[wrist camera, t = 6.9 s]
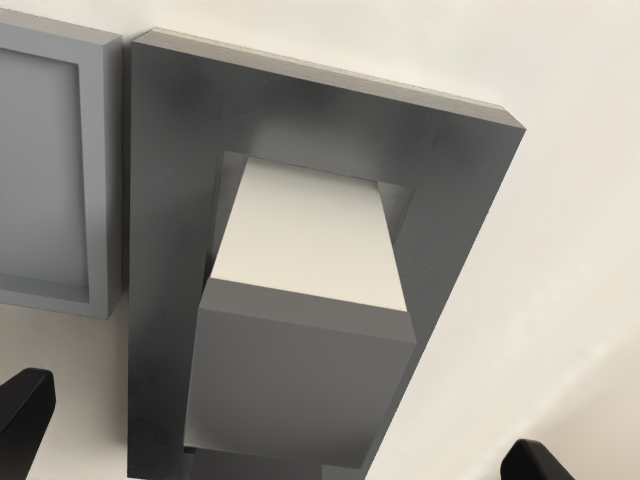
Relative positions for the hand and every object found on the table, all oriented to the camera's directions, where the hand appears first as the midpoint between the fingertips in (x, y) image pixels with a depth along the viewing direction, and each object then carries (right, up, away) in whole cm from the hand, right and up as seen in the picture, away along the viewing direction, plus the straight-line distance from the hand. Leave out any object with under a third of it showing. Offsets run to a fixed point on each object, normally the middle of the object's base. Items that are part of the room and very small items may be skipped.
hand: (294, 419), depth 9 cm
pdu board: (-1, +1, +9) cm, 9 cm away
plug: (0, +4, +7) cm, 8 cm away
